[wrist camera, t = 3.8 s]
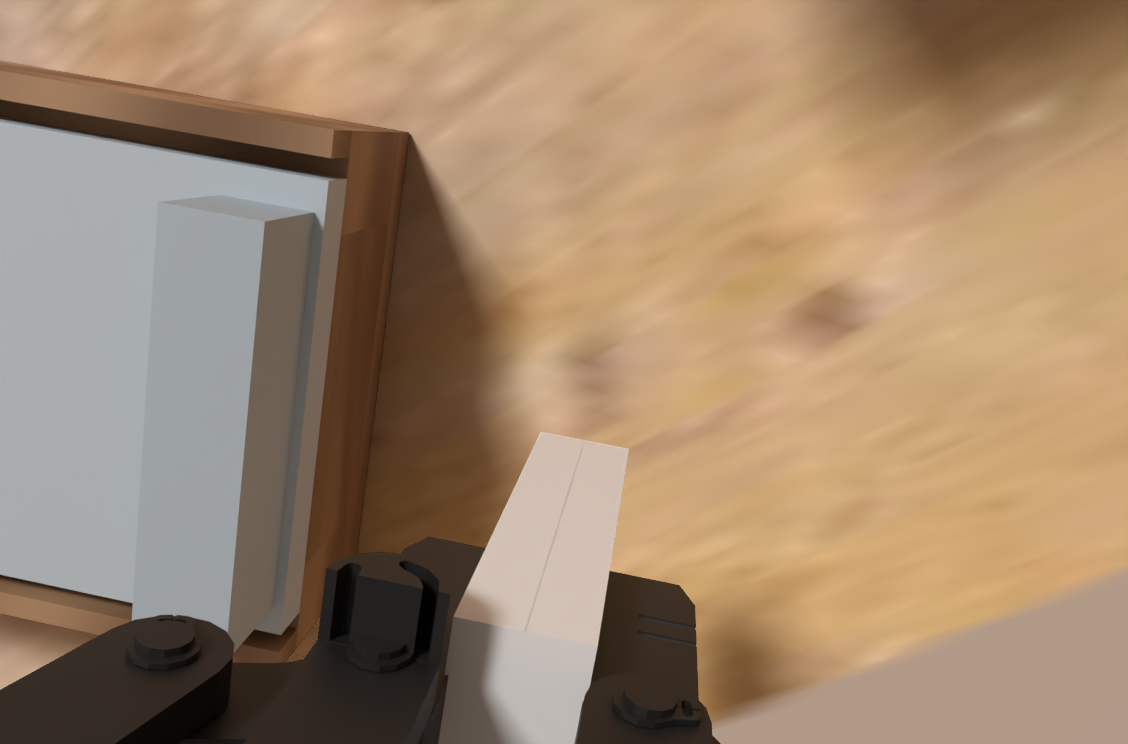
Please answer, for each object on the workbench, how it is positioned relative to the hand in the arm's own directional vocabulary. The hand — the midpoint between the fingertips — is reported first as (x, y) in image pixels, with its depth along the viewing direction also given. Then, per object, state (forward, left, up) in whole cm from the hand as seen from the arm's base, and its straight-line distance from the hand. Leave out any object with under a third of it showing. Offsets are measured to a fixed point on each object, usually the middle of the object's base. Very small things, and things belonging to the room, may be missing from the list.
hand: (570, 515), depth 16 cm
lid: (+13, 0, -3) cm, 14 cm away
